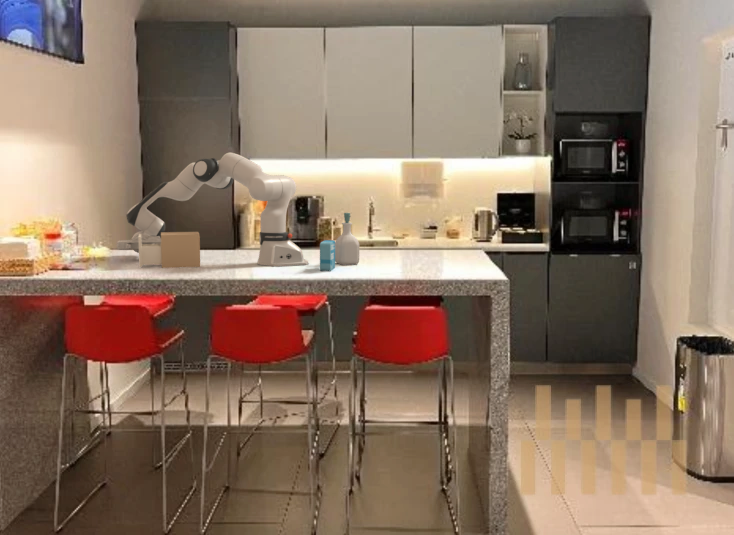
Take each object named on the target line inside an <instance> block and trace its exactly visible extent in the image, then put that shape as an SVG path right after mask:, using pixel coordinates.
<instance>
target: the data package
mask: <svg viewBox="0 0 734 535" xmlns="http://www.w3.org/2000/svg"><path fill="white" fill-rule="evenodd" d="M335 242H336V240H330V239H329V240H327V239H323V241H321V242H320V243H319V270H320V272H331V271H334V269H335V268H336V262H335Z"/></svg>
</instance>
